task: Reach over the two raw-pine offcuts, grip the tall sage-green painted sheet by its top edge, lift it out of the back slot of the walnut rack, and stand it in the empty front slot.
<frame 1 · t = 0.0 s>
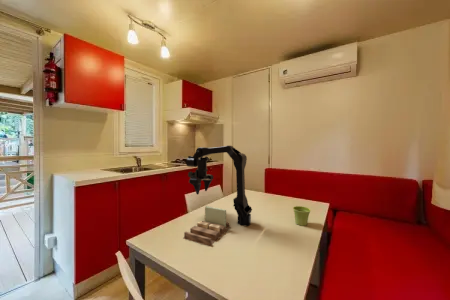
hand: (201, 192, 116), 15 cm above the table, tool pointing down, fingers open, 9 cm apart
offcut b: (202, 230, 95), point 1 cm above the table, touching rack
rack: (208, 233, 93), on the table
sheet: (215, 226, 100), point 1 cm above the table, touching rack
plant pot: (301, 224, 107), on the table
offcut a: (214, 233, 92), point 1 cm above the table, touching rack
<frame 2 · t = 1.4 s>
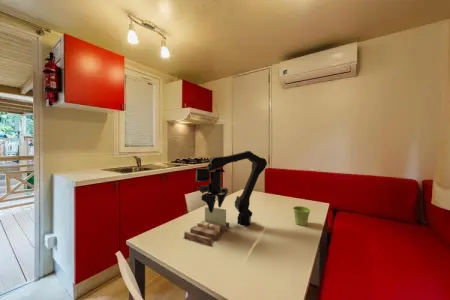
hand: (215, 209, 99), 10 cm above the table, tool pointing down, fingers open, 9 cm apart
nothing on the table moved.
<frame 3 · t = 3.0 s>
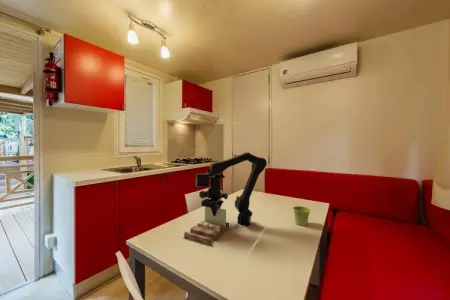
hand: (215, 215, 99), 7 cm above the table, tool pointing down, fingers closed on sheet, 2 cm apart
sheet: (215, 226, 100), point 1 cm above the table, touching gripper, rack
everything else where it was.
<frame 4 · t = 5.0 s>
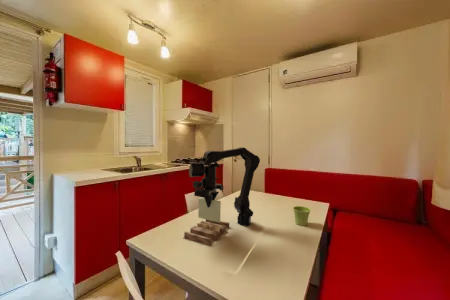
hand: (209, 206, 94), 13 cm above the table, tool pointing down, fingers closed on sheet
sheet: (209, 219, 95), point 7 cm above the table, touching gripper
everything else where it was.
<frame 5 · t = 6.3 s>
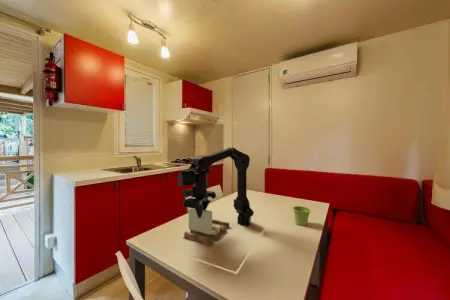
hand: (200, 217, 87), 11 cm above the table, tool pointing down, fingers closed on sheet
sheet: (200, 231, 87), point 4 cm above the table, touching gripper
everything else where it was.
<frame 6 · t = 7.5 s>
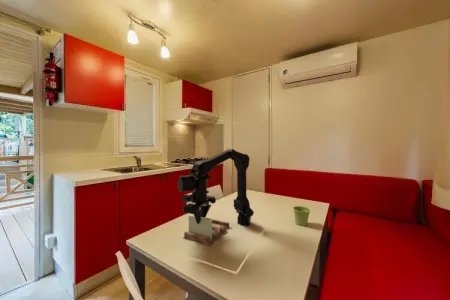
hand: (200, 222, 87), 8 cm above the table, tool pointing down, fingers open, 3 cm apart
sheet: (199, 238, 87), point 1 cm above the table, touching rack
everything else where it was.
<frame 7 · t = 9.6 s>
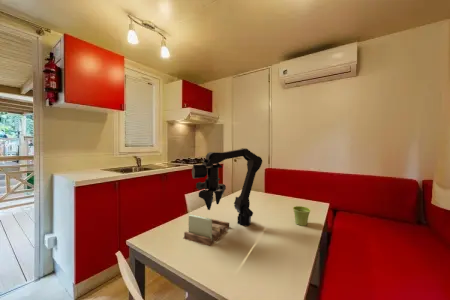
hand: (213, 206, 96), 13 cm above the table, tool pointing down, fingers open, 9 cm apart
nothing on the table moved.
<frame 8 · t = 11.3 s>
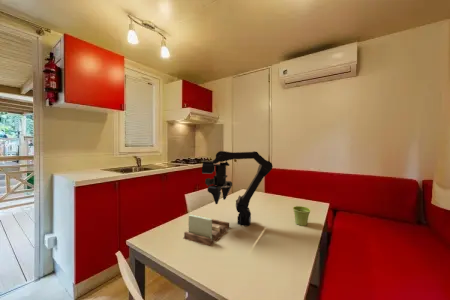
hand: (220, 201, 103), 13 cm above the table, tool pointing down, fingers open, 9 cm apart
nothing on the table moved.
at the end: sheet 0.2 cm from the target spot on the rack, point 0.8 cm above the rack's base; sheet tilted 0°; the gripper is holding nothing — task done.
